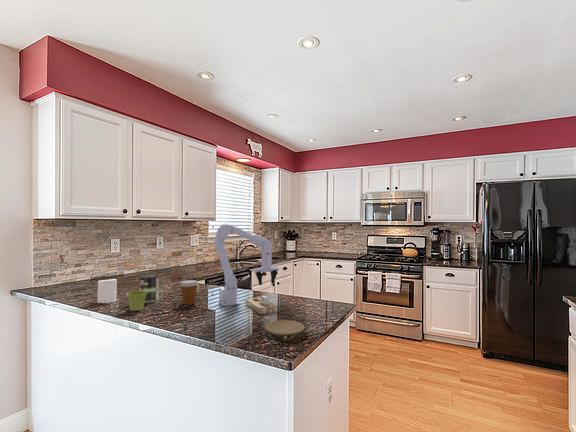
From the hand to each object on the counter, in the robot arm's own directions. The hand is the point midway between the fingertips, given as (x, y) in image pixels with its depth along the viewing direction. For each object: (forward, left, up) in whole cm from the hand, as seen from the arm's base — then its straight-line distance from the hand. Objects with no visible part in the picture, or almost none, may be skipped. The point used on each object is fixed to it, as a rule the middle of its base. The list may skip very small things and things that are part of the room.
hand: (266, 284), depth 171 cm
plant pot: (-66, +15, -10) cm, 68 cm away
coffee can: (-59, +33, -10) cm, 68 cm away
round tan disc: (-15, -50, -10) cm, 53 cm away
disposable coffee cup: (-40, +16, -10) cm, 44 cm away
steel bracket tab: (-9, -16, -10) cm, 21 cm away
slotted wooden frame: (-9, -12, -9) cm, 17 cm away
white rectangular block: (-80, +41, -10) cm, 90 cm away
